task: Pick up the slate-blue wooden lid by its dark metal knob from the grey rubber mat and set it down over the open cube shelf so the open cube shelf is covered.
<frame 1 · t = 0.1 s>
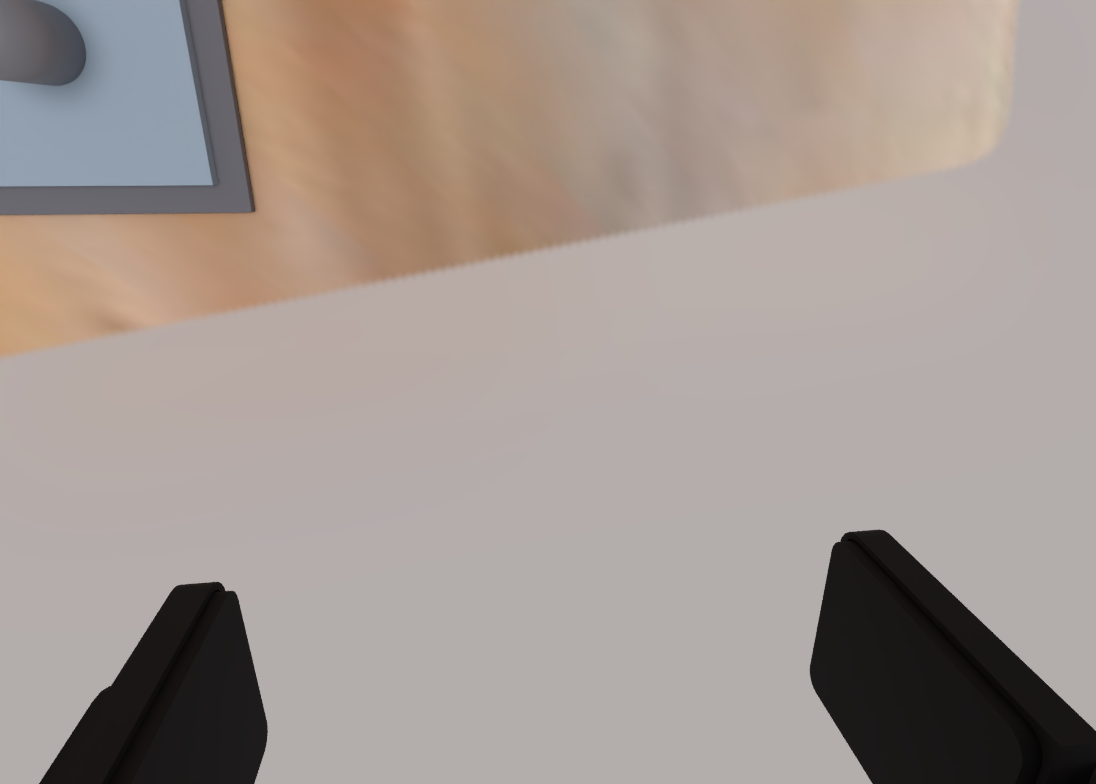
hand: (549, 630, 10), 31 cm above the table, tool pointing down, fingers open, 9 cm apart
lid: (54, 46, 32), point 1 cm above the table, touching mat
mat: (61, 47, 32), on the table
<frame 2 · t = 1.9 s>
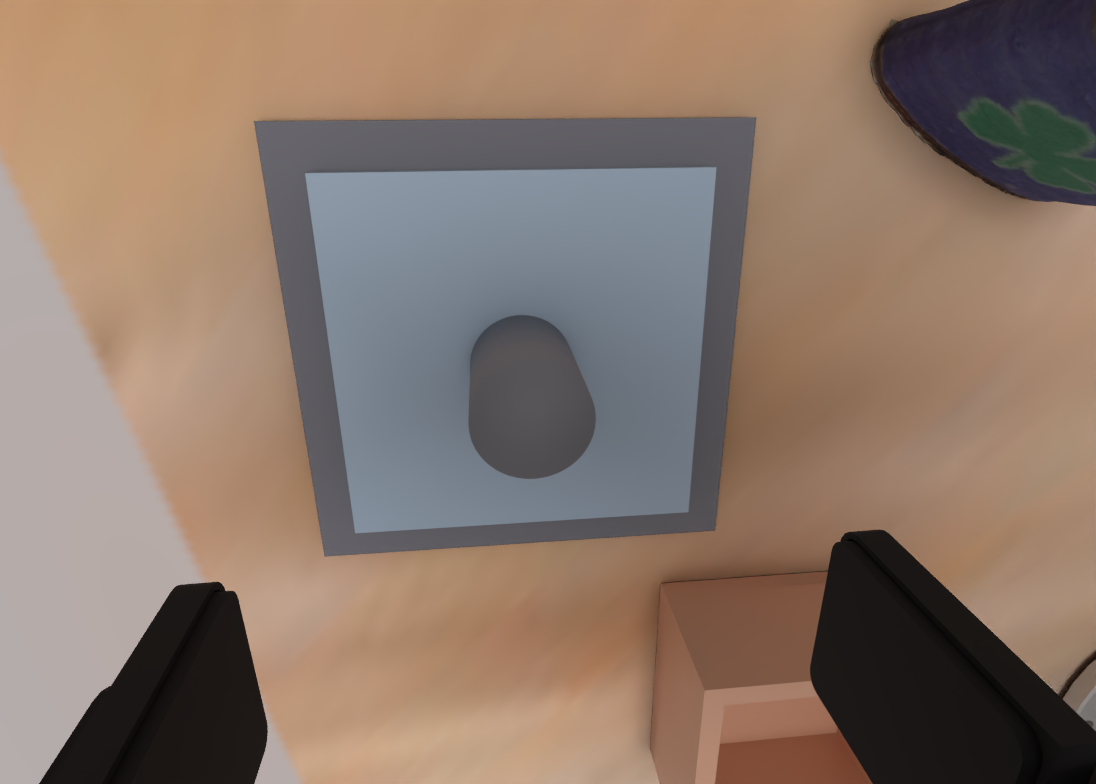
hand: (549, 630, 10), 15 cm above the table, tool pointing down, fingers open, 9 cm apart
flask: (965, 116, 23), on the table
open cube shelf: (757, 661, 31), on the table
lid: (520, 357, 24), point 1 cm above the table, touching mat
mat: (519, 352, 24), on the table
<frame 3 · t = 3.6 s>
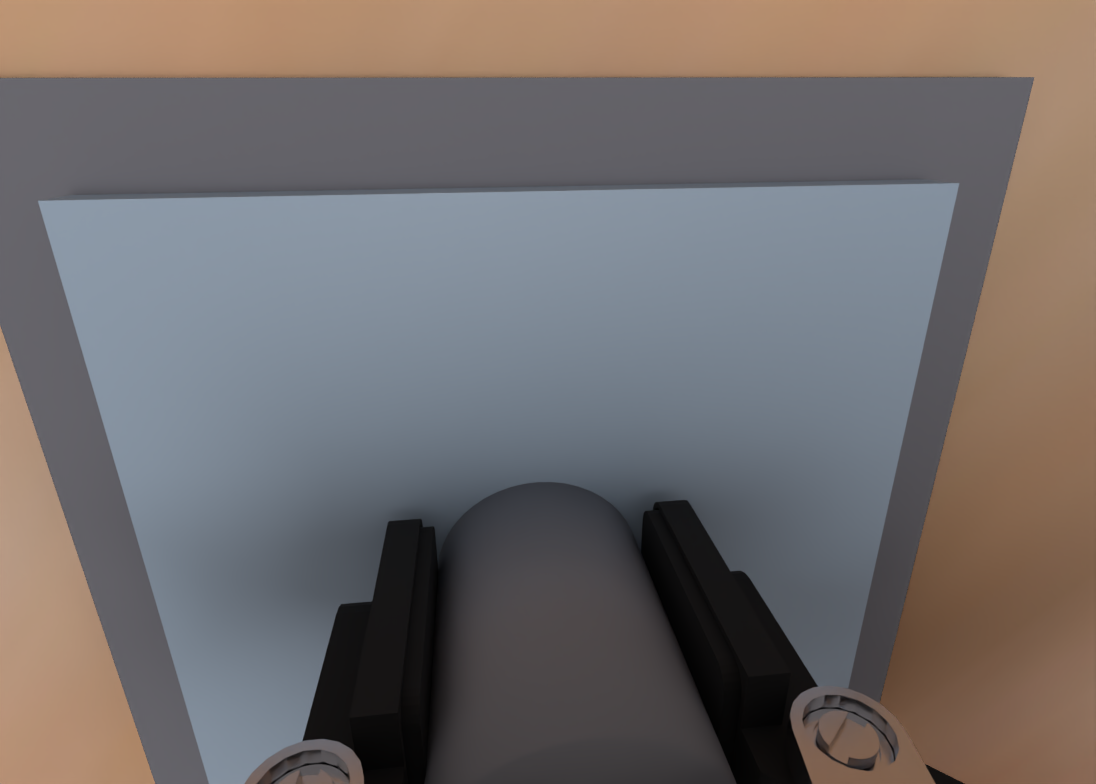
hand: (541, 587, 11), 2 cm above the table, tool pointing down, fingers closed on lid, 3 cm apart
lid: (534, 543, 12), point 1 cm above the table, touching gripper, mat
mat: (531, 525, 13), on the table
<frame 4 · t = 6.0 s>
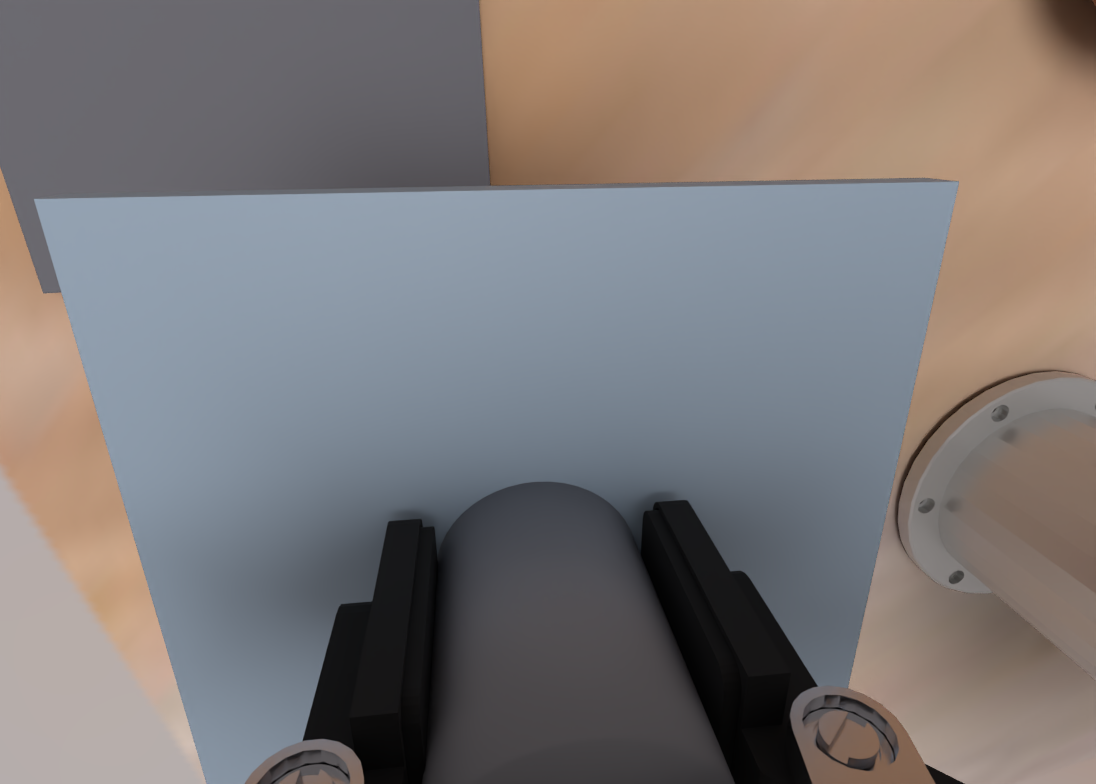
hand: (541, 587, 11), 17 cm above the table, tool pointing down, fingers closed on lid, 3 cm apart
lid: (533, 543, 12), point 15 cm above the table, touching gripper
mat: (236, 35, 21), on the table
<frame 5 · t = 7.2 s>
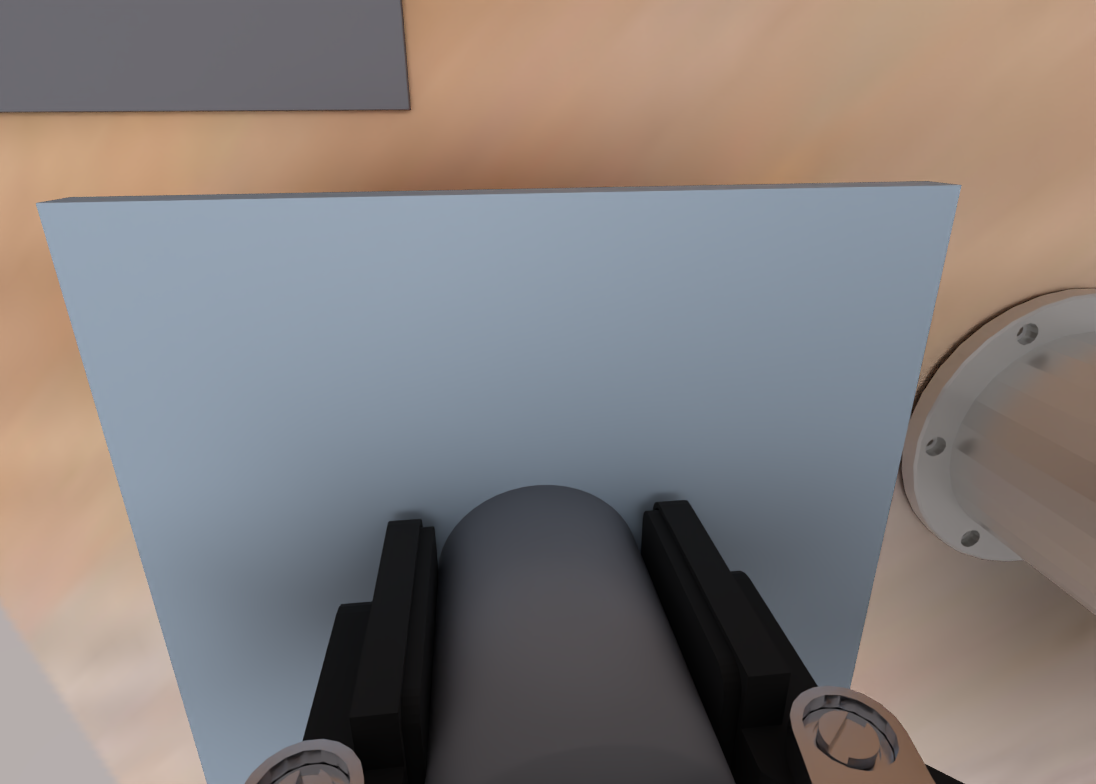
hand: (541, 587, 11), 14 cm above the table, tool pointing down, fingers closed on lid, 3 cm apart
lid: (535, 546, 12), point 13 cm above the table, touching gripper
when the fingers open (9 cm above the table, at t = 8.4 s): lid drops 1 cm, resting on open cube shelf.
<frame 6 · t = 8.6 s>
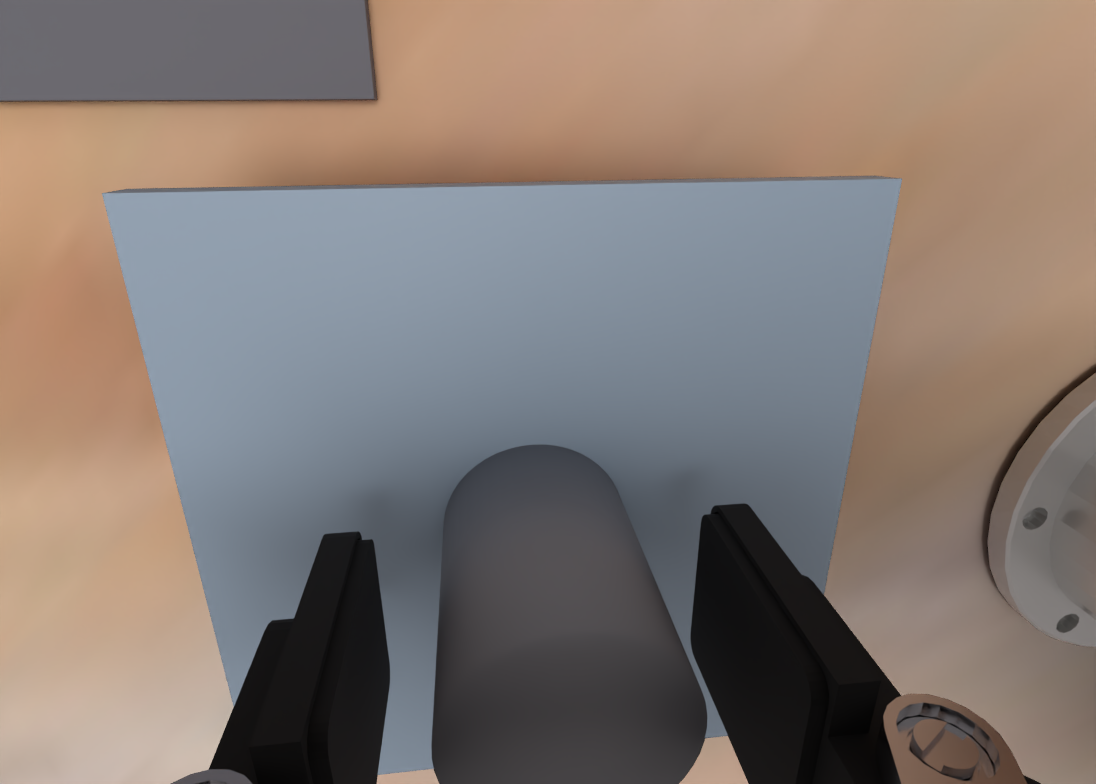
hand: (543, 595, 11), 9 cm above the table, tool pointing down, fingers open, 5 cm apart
lid: (530, 503, 14), point 6 cm above the table, touching open cube shelf
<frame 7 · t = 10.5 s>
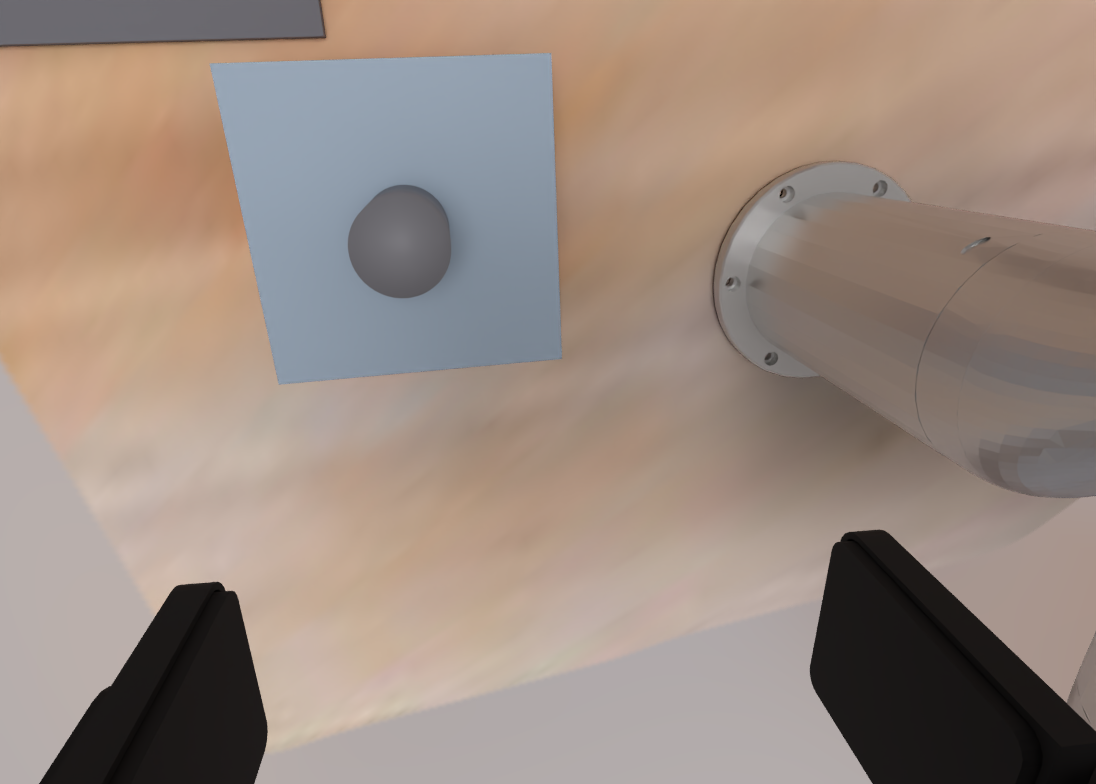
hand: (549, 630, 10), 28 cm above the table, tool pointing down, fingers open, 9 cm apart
lid: (407, 226, 28), point 6 cm above the table, touching open cube shelf
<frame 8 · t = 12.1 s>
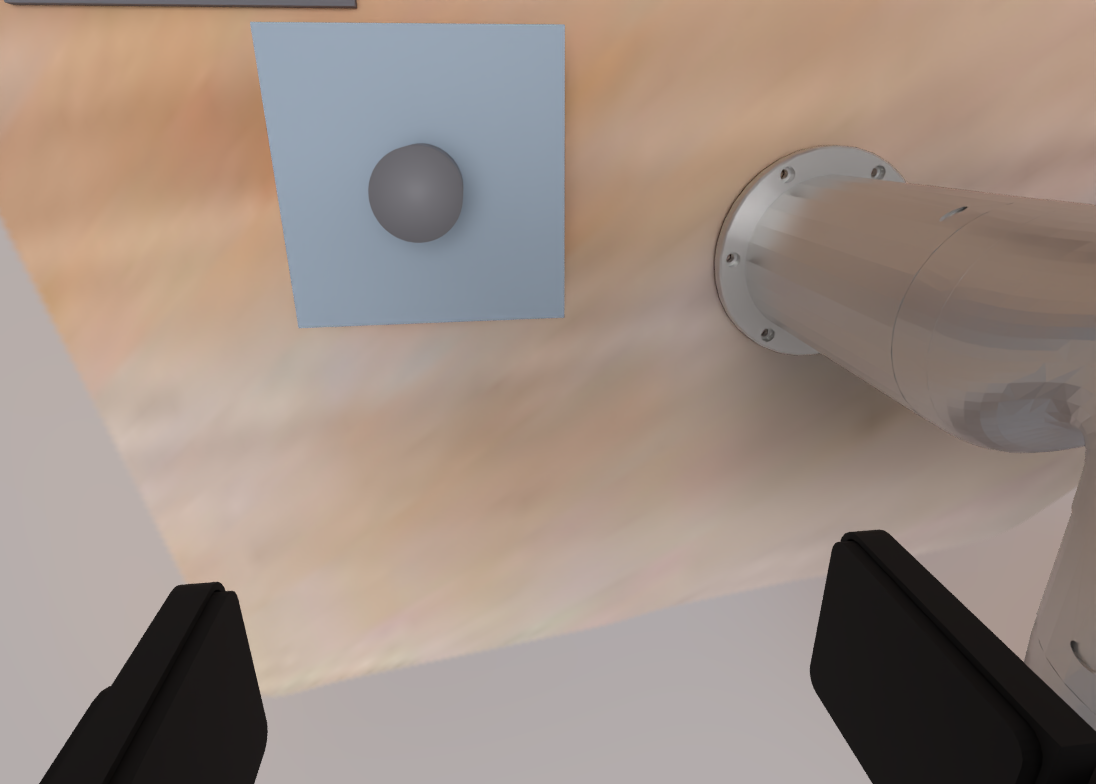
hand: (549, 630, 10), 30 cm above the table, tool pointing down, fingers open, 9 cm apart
lid: (424, 183, 30), point 6 cm above the table, touching open cube shelf
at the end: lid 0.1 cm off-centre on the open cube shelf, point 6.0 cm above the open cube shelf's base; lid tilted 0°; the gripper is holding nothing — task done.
